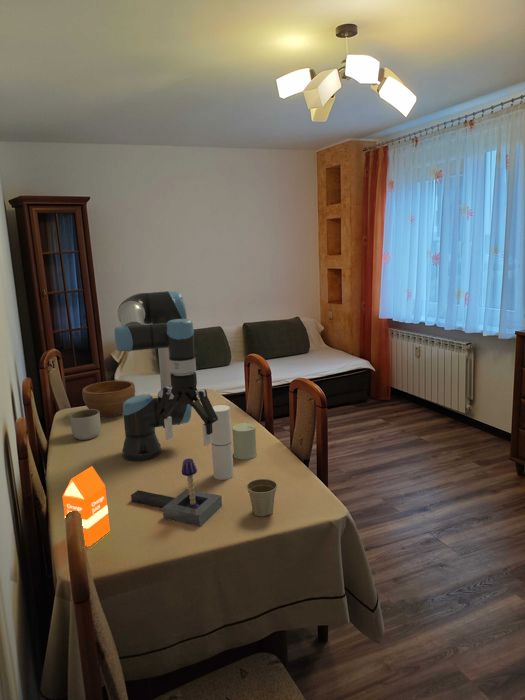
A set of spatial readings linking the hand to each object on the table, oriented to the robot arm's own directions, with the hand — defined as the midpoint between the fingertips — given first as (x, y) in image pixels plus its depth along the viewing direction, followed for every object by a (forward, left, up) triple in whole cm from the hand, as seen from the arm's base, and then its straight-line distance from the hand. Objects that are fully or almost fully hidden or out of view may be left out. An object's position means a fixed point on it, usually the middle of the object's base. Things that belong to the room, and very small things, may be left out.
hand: (188, 441), depth 151 cm
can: (-5, +45, -23) cm, 51 cm away
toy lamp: (0, 0, -23) cm, 23 cm away
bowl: (-91, +66, -23) cm, 115 cm away
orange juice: (-20, -23, -23) cm, 38 cm away
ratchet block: (-8, 0, -23) cm, 24 cm away
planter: (-81, +39, -23) cm, 93 cm away
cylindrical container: (-4, +26, -23) cm, 35 cm away
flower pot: (+20, +8, -23) cm, 32 cm away
